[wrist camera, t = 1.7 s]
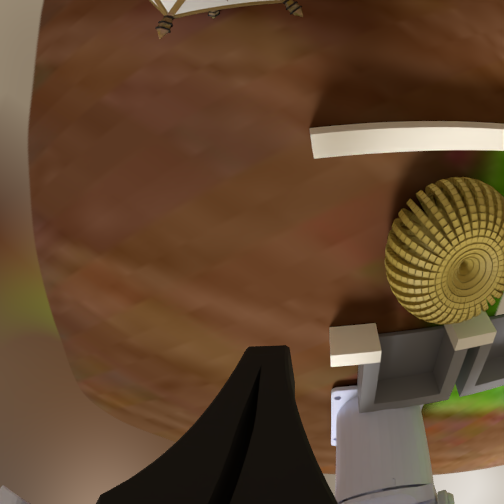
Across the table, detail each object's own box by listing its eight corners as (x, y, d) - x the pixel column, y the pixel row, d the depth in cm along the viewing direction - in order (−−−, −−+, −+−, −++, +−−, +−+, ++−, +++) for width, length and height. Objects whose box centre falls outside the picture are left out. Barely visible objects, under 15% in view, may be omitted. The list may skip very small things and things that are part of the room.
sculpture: (504, 155, 9) (544, 281, 11) (463, 138, 13) (512, 247, 15) (360, 265, 13) (433, 361, 15) (349, 226, 16) (417, 316, 18)
